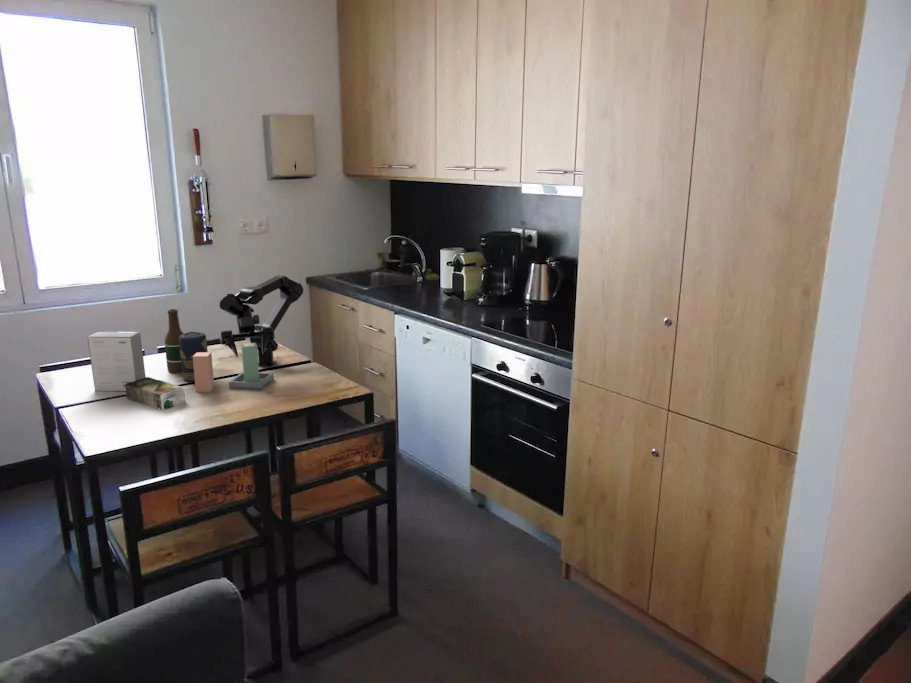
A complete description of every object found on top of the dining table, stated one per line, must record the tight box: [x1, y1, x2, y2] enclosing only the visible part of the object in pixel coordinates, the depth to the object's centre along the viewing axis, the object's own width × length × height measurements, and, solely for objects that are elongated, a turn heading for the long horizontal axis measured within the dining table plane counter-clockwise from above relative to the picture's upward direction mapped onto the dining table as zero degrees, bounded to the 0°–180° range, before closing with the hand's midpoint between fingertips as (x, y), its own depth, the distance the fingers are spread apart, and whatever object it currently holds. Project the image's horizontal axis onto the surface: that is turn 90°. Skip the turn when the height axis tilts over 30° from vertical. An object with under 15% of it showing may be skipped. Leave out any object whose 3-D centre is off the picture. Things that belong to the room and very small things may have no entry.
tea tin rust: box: [193, 351, 215, 393], centre depth 240 cm, size 5×5×13 cm
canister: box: [179, 331, 209, 382], centre depth 250 cm, size 10×10×18 cm
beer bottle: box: [164, 308, 185, 374], centre depth 259 cm, size 8×8×24 cm
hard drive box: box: [87, 331, 147, 392], centre depth 239 cm, size 16×8×20 cm, turn 89°
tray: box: [228, 371, 275, 391], centre depth 247 cm, size 12×12×2 cm
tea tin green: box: [241, 342, 260, 382], centre depth 246 cm, size 5×5×14 cm
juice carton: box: [125, 376, 186, 410], centre depth 229 cm, size 20×10×6 cm, turn 60°
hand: (250, 355), depth 248 cm, fingers open, 9 cm apart
